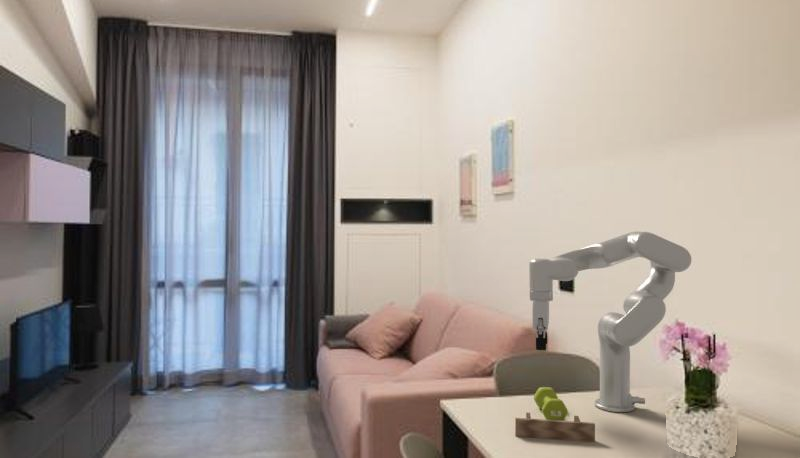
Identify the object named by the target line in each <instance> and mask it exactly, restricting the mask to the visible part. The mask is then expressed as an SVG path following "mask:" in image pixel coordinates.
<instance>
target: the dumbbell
mask: <svg viewBox="0 0 800 458" xmlns="http://www.w3.org/2000/svg"><path fill="white" fill-rule="evenodd" d="M533 400H534V402H535V404H536V406H537V407H538V408H539V410H541V409H542V410H541V413H542V415H543V416H544V418H545V420H559V421H565V418H566V417H567V415H568V411H569V410H568V408H567V406H566V405H565V403H564V401H563V400H562V399H560V398H559V397H558V395H557V393H556V392H555V390H554V388H552V387H547V386H541V387H538V389H537V390H536V392H535V394H534V395H533Z"/></svg>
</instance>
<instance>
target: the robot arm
mask: <svg viewBox="0 0 800 458" xmlns="http://www.w3.org/2000/svg"><path fill="white" fill-rule="evenodd" d="M635 258H636V259H637V258H642V259H643V258H644V259H646V260H648V261H649V262H650V263H649V264H650V272H649V273H648V274H649V275H647V277H646V279H645V280H644V281H642V283H641V284H639V285H638V287H636V288H635V289H634V290H633V291H632V292H631V293H630V294H628V296H627V297H626V298H625V299H624V300H623V306H622V307H623V308H622V309H623V311H624V312H625V314H621V313H619V312H615V311H612V312H607V313H605V314H603V315H602V316H601V317H600V319H599V321H598V324H597V334H598V340H599V398H597V399H595V400H594V405H595V407H596V408H598V409H601V410H604V411H608V412H613V413H628V412H632V411H634V410H635V406H636V404H639V405H645V404H646V398H645V397H640V396H638V395H635V396H633V395H632V393H630V392H631V387H630V386H631V351H630V348H631V347H633V346H635V345H636V344H638V343H640V342H641V341H642V340H643V339H644V338H645V337H646V336H648V335H649V334H650V333H651V331H653V330H654V329H655V328H656V327H657V326H659V324H660V323H662V320H663V319H664V317H665V315H666V311H667V310H666V304H665V301H664V300H665V299H666V298H667V297H668V296H669V295H670V293H671V292H672V291H673V289H674V286H675V282H676V273H682V272H684V271H686V270H688V269H689V268H690V266H691V264H692V255H691V253H690V251H689V250H688V249H687V248H685V247H683V246H682V245H679V244H678V243H675V242H673V241H670V240H668V239H666V238H663V237H661V236H659V235H657V234H654V233H652V232H650V231H648V232H647V231H631V232H628V233H625V234H622V235H619V236H617V237H614V238H611V239H607V240H605V241H602V242H601V241H600V242H598V243H595V244H592V245H588V246H586V247H582V248H579V249H574V250H571V251H569V252H566V253H563V254H560V255H556V256H554V257H552V258H551V259H548V258H533V259H530V261H529V262H528V263H529V264H528V265H529V274H528V275H529V277H528V278H529V301H531V302H532V310H531V311H532V312H531V313H532V320H531V321H532V325H531V326H532V331H535V330H536V335H535V336H536V337H535V350H536V351H546V350H547V344H548V329H549V322H550V302H551V301H554V298H553V293H554V288H553V285H554V284H553V283H554V282H553V281H562V282H569V281H573V280H575V278H576V277H577V276H578V274H579V272H580V271H586V270H592V269H595V270H596V269H605V268H609V267H613V266H615V265H618V264H621V263H623V262H626V261H627V262H628V261H630V260H633V259H635Z"/></svg>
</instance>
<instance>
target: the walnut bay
mask: <svg viewBox="0 0 800 458" xmlns="http://www.w3.org/2000/svg"><path fill="white" fill-rule="evenodd" d="M514 424H515V427H514V428H515V432H514V434H515V437H520V438H521V437H522V438H534V439H535V438H536V439H550V440H561V441H562V440H563V441H576V442H577V441H578V442H592V443H595V442H596V423H595V422H585V421H581V420H580V417H579V415H573V420H563V421H559V420H546V419H543V418H541V419H540V418H532V417H531V412H525V417H515V423H514Z"/></svg>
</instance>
